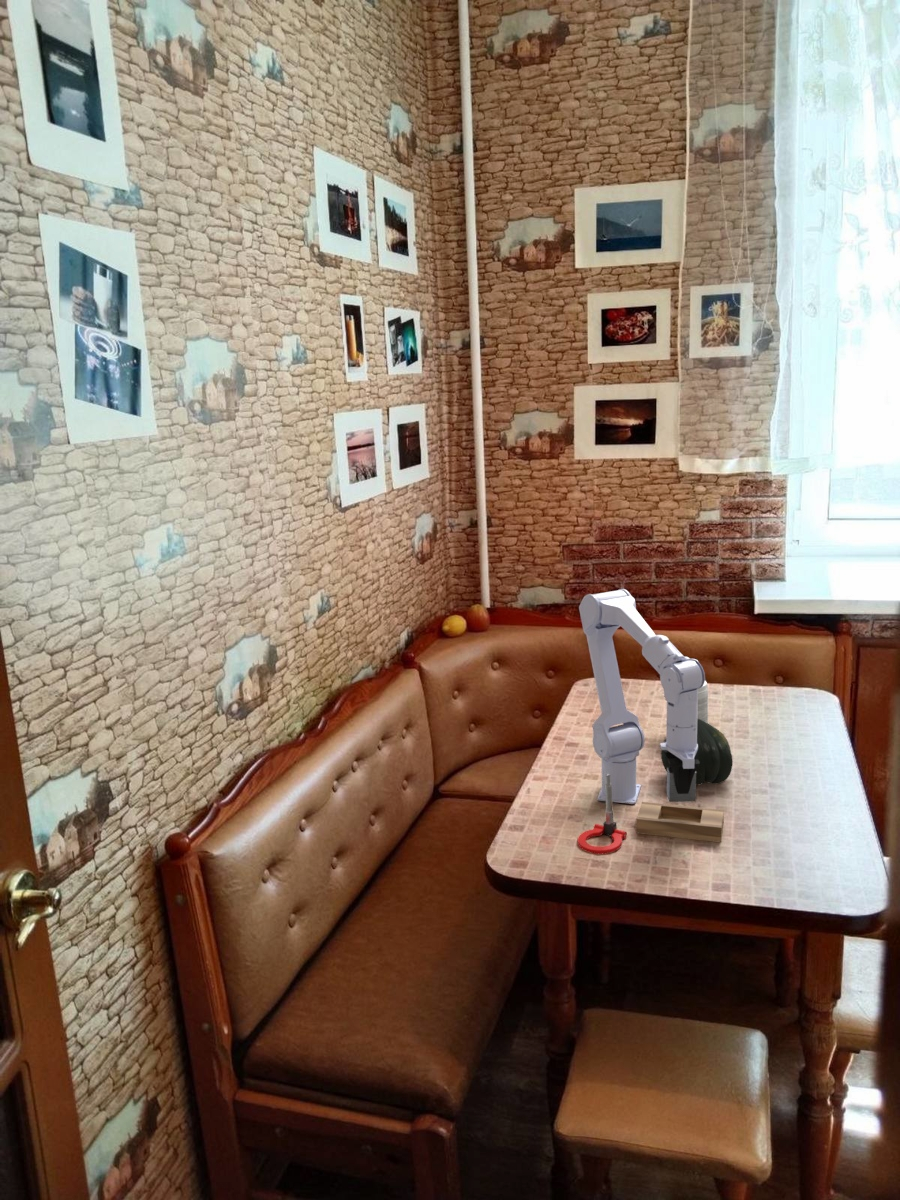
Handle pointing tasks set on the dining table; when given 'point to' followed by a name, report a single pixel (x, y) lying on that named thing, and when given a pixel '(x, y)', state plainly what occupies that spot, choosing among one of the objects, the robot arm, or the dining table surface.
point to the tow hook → (604, 828)
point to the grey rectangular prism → (672, 791)
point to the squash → (709, 755)
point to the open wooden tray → (680, 821)
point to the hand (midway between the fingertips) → (680, 789)
